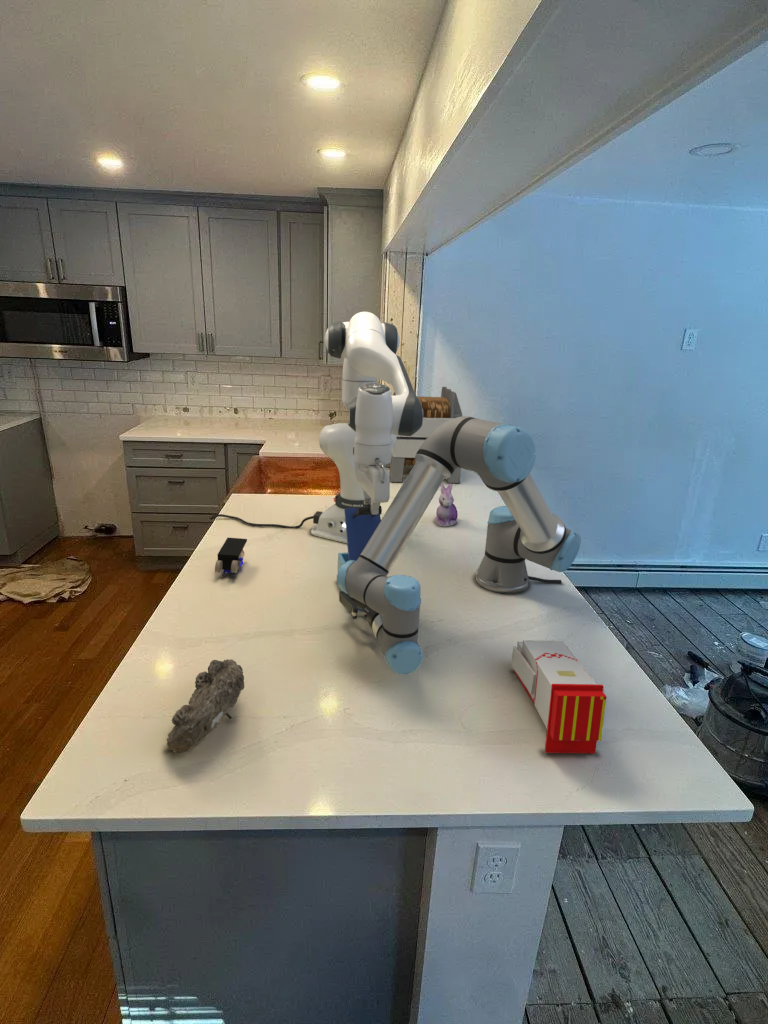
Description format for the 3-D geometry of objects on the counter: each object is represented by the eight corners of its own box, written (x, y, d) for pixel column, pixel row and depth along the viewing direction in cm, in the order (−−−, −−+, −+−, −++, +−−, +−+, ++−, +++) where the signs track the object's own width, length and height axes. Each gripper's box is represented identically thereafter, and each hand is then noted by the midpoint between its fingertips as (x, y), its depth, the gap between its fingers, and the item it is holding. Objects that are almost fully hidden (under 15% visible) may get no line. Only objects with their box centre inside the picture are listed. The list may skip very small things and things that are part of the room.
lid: (344, 509, 148) (351, 501, 139) (378, 507, 150) (387, 499, 142) (350, 578, 145) (357, 574, 136) (385, 575, 147) (394, 571, 138)
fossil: (192, 660, 117) (244, 628, 112) (224, 691, 120) (276, 661, 115) (142, 746, 98) (202, 712, 93) (182, 779, 101) (242, 748, 96)
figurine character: (238, 584, 162) (249, 557, 175) (236, 562, 158) (247, 536, 172) (215, 584, 161) (227, 556, 175) (212, 561, 158) (225, 535, 171)
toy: (559, 623, 127) (616, 692, 98) (553, 678, 130) (607, 761, 101) (505, 622, 127) (547, 691, 98) (501, 677, 130) (540, 760, 100)
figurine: (442, 528, 206) (446, 489, 201) (428, 519, 214) (431, 481, 209) (464, 525, 210) (468, 486, 205) (449, 516, 218) (452, 479, 213)
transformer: (382, 463, 289) (386, 382, 275) (445, 464, 293) (451, 384, 279) (390, 482, 257) (394, 392, 243) (460, 483, 261) (468, 394, 247)
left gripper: (397, 464, 126) (395, 522, 130) (375, 445, 145) (373, 497, 149) (370, 464, 124) (368, 524, 129) (351, 445, 143) (350, 498, 147)
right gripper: (339, 643, 128) (323, 596, 148) (431, 633, 134) (403, 589, 154) (340, 613, 125) (323, 570, 146) (433, 604, 131) (405, 564, 151)
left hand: (371, 509), depth 139 cm, fingers open, 5 cm apart
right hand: (364, 580), depth 150 cm, fingers closed on chest, 9 cm apart
